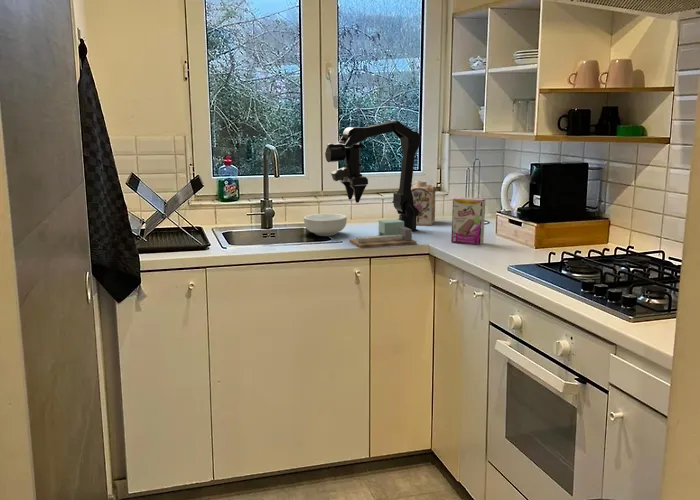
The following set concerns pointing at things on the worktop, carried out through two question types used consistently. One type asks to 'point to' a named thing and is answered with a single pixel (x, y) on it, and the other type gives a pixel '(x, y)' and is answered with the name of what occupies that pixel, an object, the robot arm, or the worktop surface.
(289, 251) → the worktop surface
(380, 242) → the mounting board
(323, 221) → the cereal bowl
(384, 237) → the metal rail
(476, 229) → the candy bar box
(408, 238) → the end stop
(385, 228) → the block
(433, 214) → the decorative jar
